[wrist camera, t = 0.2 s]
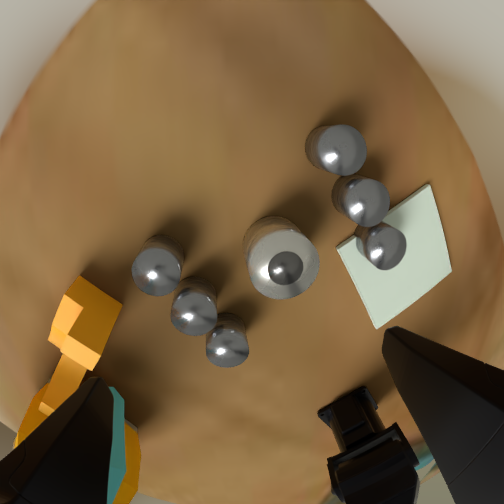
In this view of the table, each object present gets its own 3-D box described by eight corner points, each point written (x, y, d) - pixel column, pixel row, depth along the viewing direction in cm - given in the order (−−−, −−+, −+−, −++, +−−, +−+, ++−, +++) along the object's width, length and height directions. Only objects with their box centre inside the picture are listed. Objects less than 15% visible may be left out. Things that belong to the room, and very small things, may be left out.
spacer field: (391, 241, 23) (411, 254, 20) (221, 349, 24) (222, 373, 22) (333, 118, 18) (352, 116, 16) (132, 251, 20) (122, 268, 17)
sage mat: (448, 269, 25) (451, 271, 24) (374, 326, 26) (376, 329, 25) (426, 183, 21) (429, 185, 21) (335, 247, 22) (337, 249, 22)
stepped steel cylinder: (311, 251, 22) (331, 275, 18) (262, 282, 22) (273, 312, 19) (282, 204, 20) (299, 220, 17) (230, 238, 21) (235, 261, 17)
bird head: (22, 426, 27) (-5, 503, 13) (57, 340, 22) (-7, 477, 7) (96, 467, 32) (84, 545, 17) (173, 408, 27) (170, 546, 12)
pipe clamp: (80, 274, 20) (45, 318, 14) (123, 303, 22) (100, 355, 16) (45, 356, 23) (22, 399, 17) (79, 378, 24) (62, 424, 18)
